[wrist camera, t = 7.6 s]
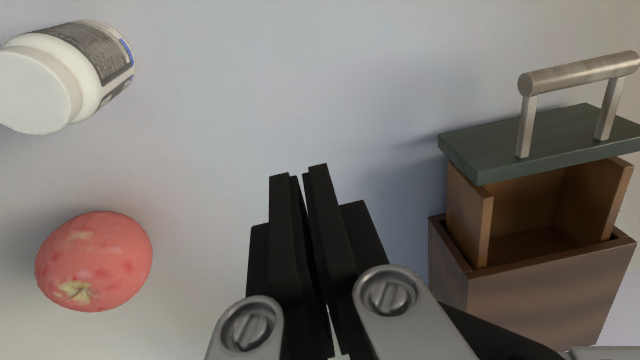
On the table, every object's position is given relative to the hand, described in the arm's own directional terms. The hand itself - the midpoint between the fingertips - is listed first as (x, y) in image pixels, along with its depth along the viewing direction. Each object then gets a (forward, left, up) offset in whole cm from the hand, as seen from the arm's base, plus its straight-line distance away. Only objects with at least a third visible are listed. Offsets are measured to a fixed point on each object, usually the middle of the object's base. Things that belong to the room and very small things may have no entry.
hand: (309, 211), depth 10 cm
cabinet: (-7, +28, -17) cm, 33 cm away
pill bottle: (+10, -8, -17) cm, 21 cm away
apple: (+20, +3, -17) cm, 27 cm away
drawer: (-12, +16, -16) cm, 26 cm away
